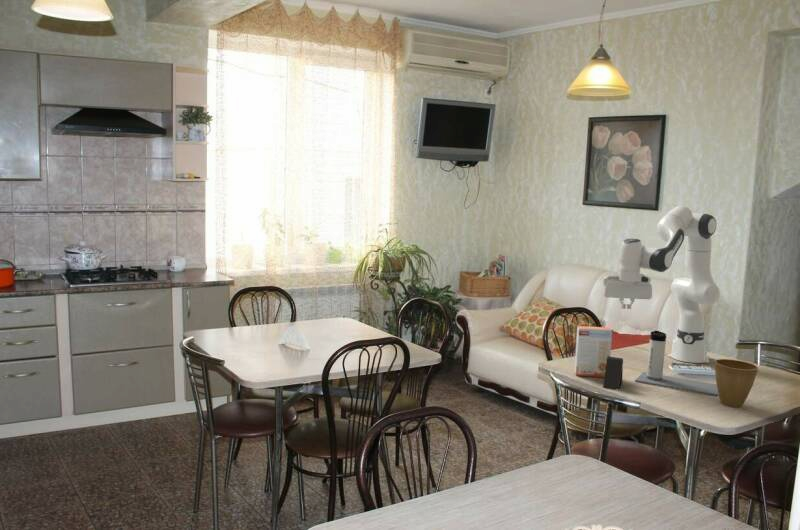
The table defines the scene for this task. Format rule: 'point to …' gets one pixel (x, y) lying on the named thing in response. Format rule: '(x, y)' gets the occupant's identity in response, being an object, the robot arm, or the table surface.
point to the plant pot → (734, 381)
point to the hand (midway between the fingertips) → (626, 308)
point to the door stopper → (613, 373)
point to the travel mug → (656, 355)
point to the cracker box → (592, 350)
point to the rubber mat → (681, 384)
